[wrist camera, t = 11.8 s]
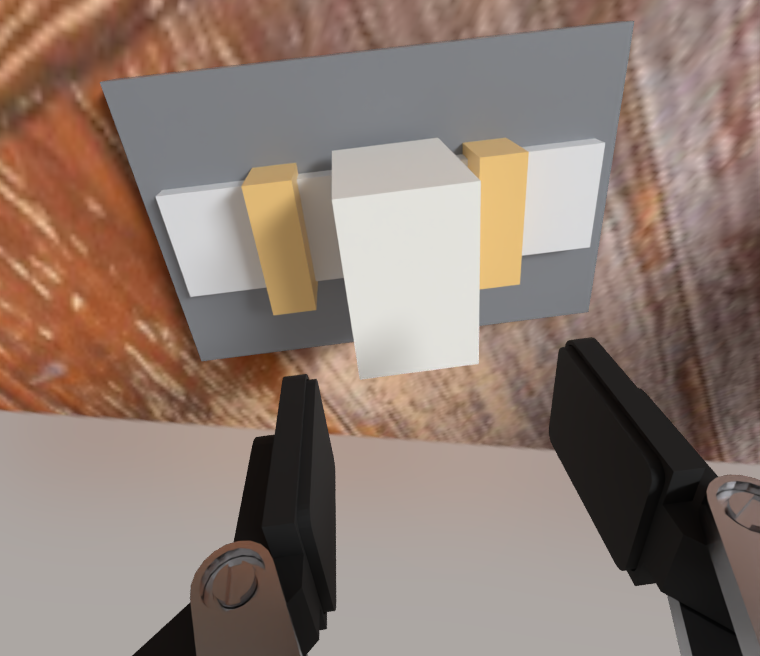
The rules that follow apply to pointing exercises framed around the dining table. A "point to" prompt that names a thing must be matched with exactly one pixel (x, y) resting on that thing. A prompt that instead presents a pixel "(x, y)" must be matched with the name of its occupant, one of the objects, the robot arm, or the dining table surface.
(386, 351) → the block
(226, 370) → the dining table surface
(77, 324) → the dining table surface
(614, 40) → the rail board
